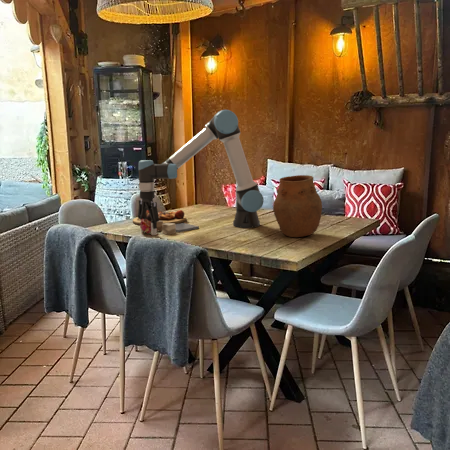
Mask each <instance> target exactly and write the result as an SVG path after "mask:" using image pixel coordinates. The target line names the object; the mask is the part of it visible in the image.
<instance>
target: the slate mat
mask: <svg viewBox="0 0 450 450" xmlns="http://www.w3.org/2000/svg"><path fill="white" fill-rule="evenodd" d="M175 226H176V233H181V232H183V233H184V232H189V231H193V230H198V229H200V226H199V225H195V224H189V223H185V222H182V223H179V224H175Z"/></svg>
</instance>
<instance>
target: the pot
mask: <svg viewBox="0 0 450 450" xmlns="http://www.w3.org/2000/svg"><path fill="white" fill-rule="evenodd" d="M272 210H273V214H274V217H275V220H276V222H277V225H278V226H279V230H280V232H282V234H283V235H284V236H286V237H291V238H301V237H306V236H311V235H313V234H314V233H315V232H316V231H317V230H318V228H319V226H320V222H321V219H322V214H323V213H322V212H323V203H322V199H321V196H320V195H319V194H318V192H317V189H316V185H315V183H314V176H313V175H307V174H306V175H305V174H301V175H299V174H298V175H289V176H284V177H281V178H279V184H278V189H277V190H276V198H275V199H274V201H273V206H272Z"/></svg>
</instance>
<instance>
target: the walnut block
mask: <svg viewBox="0 0 450 450" xmlns="http://www.w3.org/2000/svg"><path fill="white" fill-rule="evenodd" d="M151 222H152V221H151ZM162 224H163V221H161V220H159V221H158V222H157V232H162Z"/></svg>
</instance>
